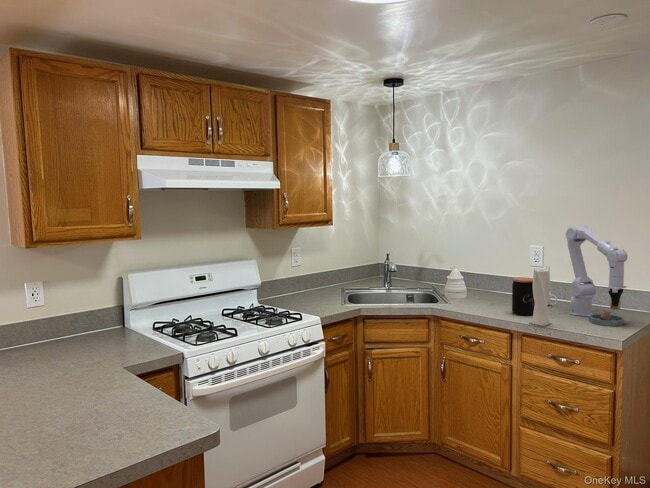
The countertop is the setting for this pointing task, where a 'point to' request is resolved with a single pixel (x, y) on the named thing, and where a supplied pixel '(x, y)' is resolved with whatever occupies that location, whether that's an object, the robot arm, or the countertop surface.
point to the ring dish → (614, 320)
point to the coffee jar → (522, 296)
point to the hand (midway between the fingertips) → (615, 305)
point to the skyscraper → (541, 296)
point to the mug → (550, 299)
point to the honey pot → (455, 285)
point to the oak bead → (615, 306)
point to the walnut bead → (606, 315)
